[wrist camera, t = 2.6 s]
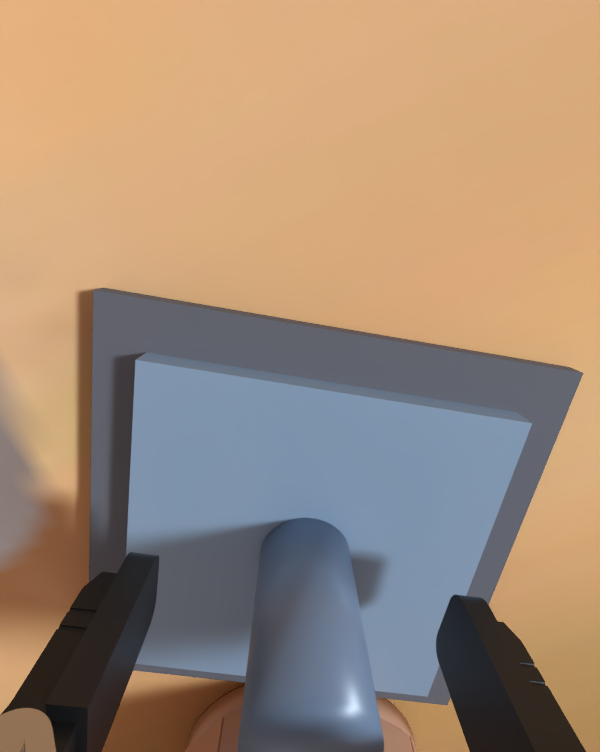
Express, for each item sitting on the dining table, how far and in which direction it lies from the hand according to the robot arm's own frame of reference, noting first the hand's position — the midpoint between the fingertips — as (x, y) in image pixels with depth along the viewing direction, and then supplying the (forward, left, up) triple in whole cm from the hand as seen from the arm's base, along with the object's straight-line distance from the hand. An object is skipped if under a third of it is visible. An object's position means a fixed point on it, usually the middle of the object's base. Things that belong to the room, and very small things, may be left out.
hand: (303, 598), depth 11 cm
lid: (0, 0, -3) cm, 3 cm away
